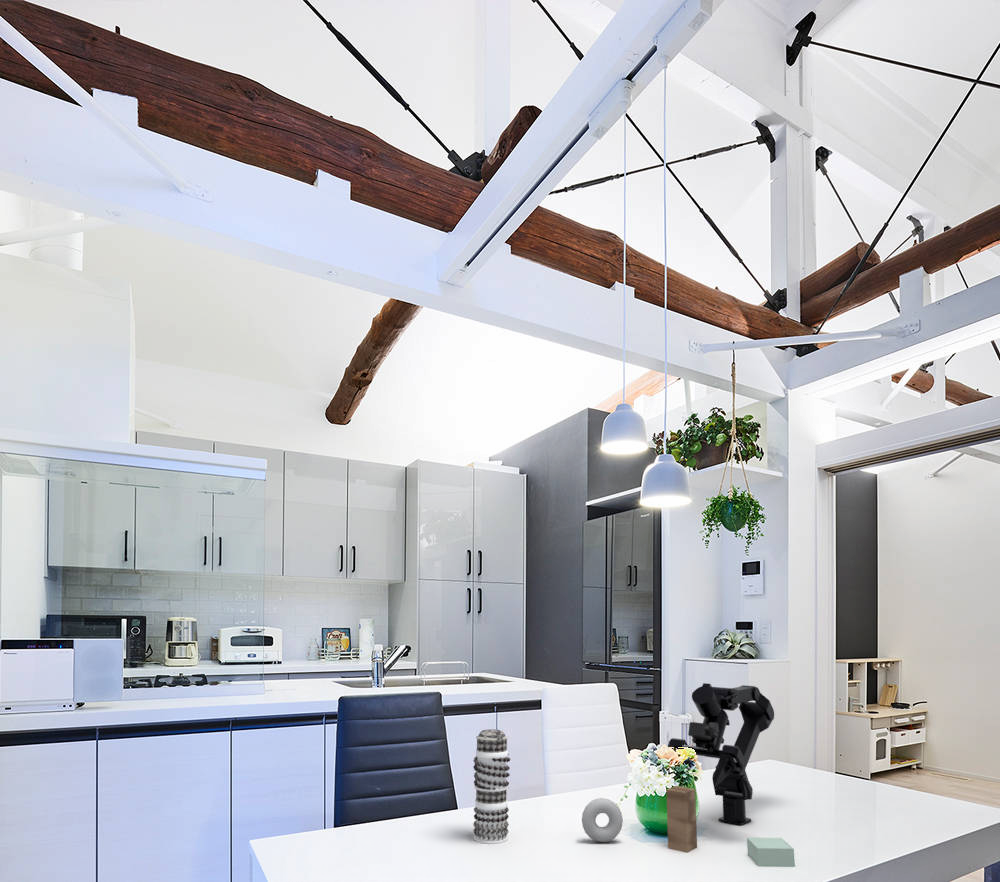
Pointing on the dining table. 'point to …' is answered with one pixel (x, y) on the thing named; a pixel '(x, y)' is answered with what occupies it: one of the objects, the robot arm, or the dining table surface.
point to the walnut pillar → (681, 819)
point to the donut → (613, 825)
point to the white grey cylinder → (491, 787)
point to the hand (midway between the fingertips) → (697, 782)
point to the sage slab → (770, 852)
